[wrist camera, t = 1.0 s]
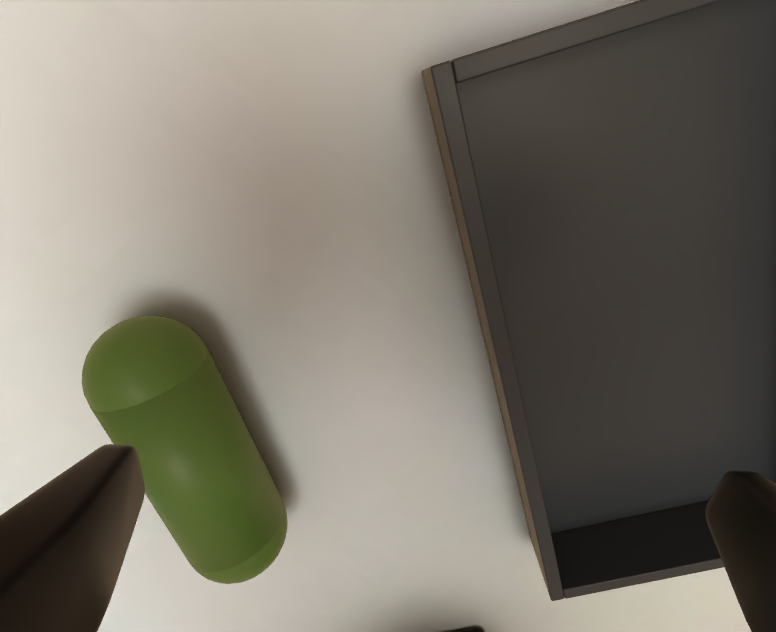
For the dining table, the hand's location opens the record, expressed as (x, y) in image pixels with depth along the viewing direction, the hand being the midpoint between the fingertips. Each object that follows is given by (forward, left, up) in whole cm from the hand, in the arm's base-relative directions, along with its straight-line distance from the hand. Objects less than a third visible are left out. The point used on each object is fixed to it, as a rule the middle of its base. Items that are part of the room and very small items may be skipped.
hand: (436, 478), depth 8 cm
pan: (+8, -5, -13) cm, 16 cm away
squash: (-10, -5, -13) cm, 17 cm away
